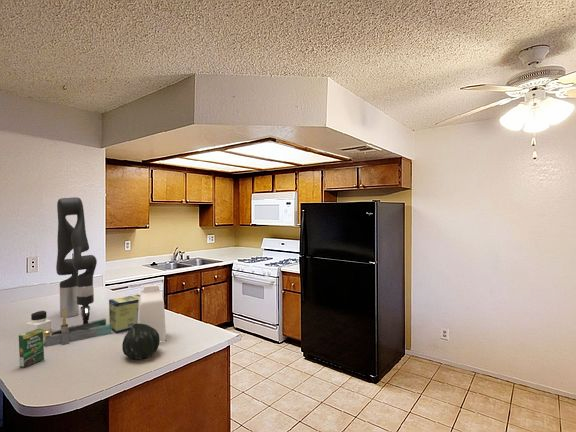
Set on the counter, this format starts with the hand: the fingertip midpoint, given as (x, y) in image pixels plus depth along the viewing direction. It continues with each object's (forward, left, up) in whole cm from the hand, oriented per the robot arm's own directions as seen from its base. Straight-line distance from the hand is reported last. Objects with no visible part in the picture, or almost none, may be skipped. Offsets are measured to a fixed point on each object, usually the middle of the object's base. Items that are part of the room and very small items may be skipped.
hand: (85, 327), depth 174 cm
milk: (+32, +25, -2) cm, 41 cm away
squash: (+48, +17, -2) cm, 51 cm away
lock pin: (+6, -9, +3) cm, 11 cm away
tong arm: (+4, -3, -1) cm, 5 cm away
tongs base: (+10, -4, -2) cm, 11 cm away
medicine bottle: (-5, -19, -2) cm, 20 cm away
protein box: (+8, +19, -2) cm, 21 cm away
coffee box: (+30, -21, -2) cm, 37 cm away
